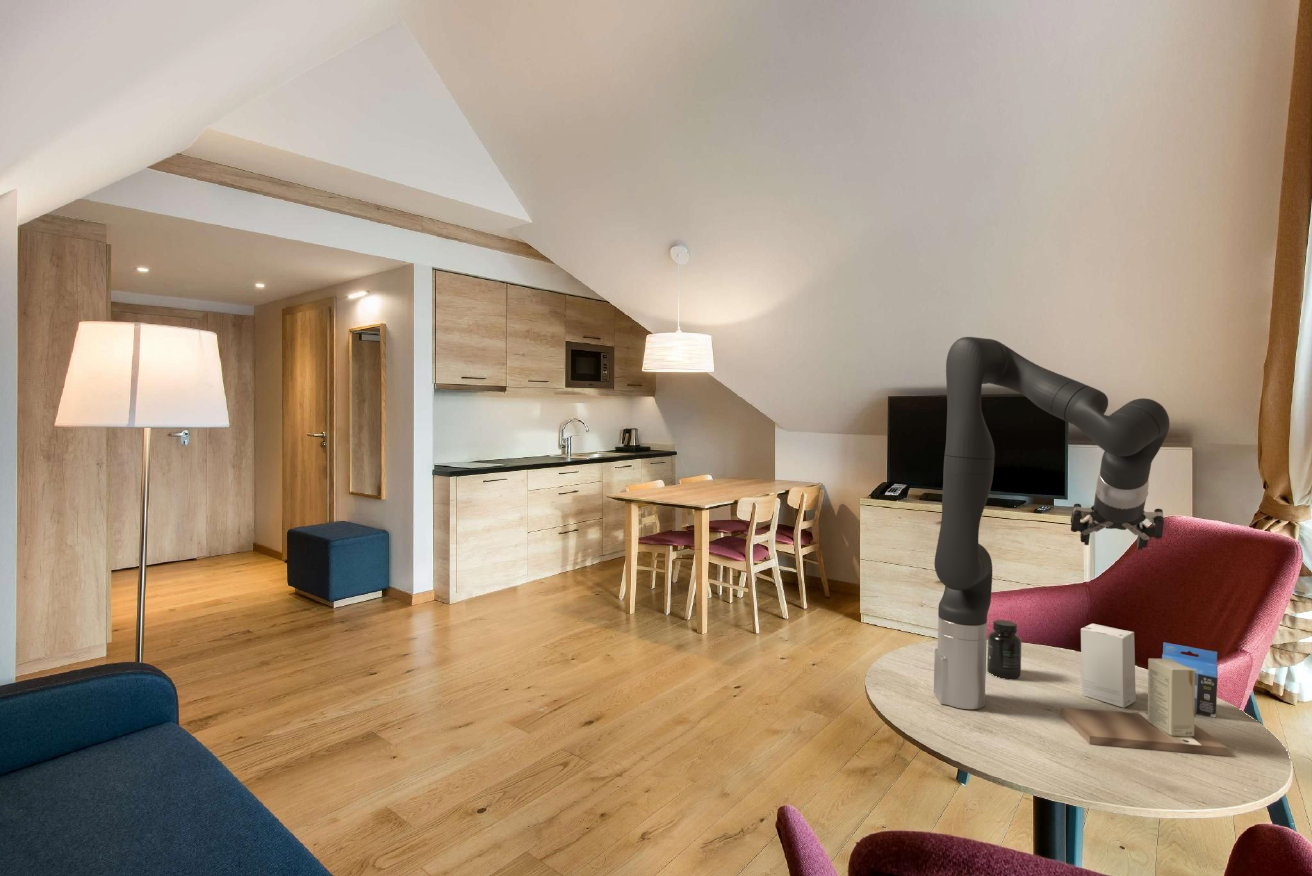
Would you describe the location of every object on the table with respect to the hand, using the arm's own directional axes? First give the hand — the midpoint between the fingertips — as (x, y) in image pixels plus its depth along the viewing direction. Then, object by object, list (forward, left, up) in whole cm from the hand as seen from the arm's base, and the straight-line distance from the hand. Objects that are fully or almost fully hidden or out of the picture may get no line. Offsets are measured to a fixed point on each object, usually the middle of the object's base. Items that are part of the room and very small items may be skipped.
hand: (1112, 543), depth 128 cm
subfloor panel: (+3, -6, -35) cm, 35 cm away
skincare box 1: (+5, +10, -35) cm, 36 cm away
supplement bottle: (-12, +20, -35) cm, 42 cm away
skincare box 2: (+8, -7, -33) cm, 35 cm away
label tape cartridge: (+19, +8, -35) cm, 40 cm away
